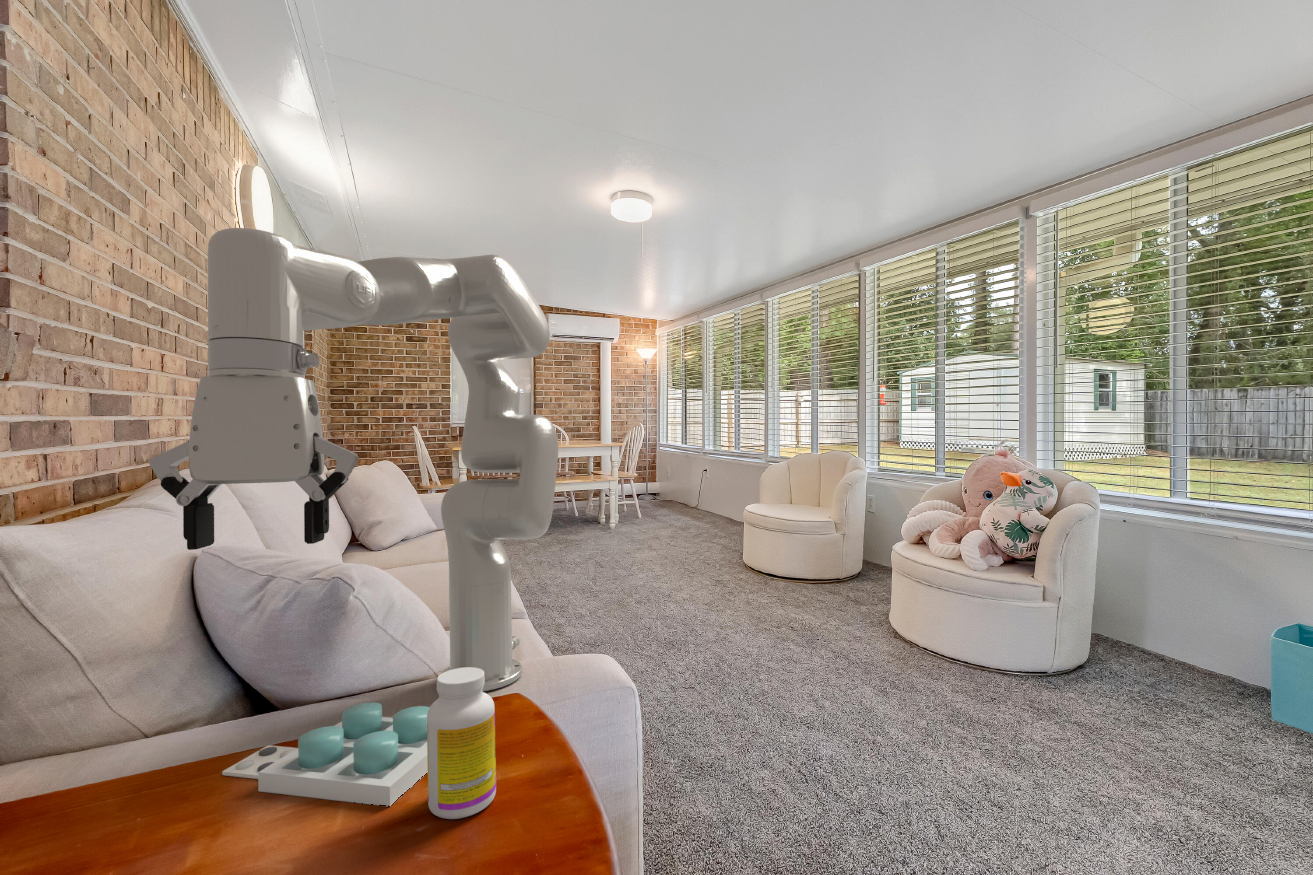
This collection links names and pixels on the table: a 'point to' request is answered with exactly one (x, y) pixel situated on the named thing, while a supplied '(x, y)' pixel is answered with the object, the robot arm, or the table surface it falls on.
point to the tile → (257, 762)
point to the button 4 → (411, 724)
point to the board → (347, 775)
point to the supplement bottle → (461, 745)
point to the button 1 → (320, 747)
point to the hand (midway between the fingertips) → (258, 544)
